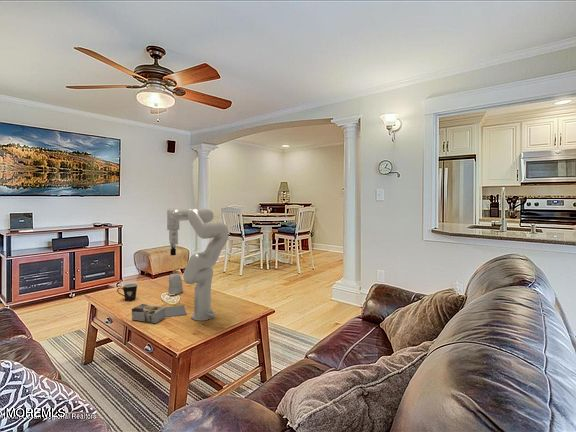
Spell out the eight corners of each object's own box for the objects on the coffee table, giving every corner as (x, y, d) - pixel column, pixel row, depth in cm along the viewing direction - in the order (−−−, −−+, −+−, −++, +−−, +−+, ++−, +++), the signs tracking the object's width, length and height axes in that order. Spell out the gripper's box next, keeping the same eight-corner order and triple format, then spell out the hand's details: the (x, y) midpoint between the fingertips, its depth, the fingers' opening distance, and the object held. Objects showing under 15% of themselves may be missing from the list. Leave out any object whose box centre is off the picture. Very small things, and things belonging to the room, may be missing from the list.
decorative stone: (178, 291, 234) (178, 271, 233) (184, 292, 232) (184, 272, 230) (167, 295, 224) (167, 274, 223) (173, 296, 222) (173, 276, 221)
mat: (186, 314, 190) (186, 314, 190) (143, 320, 181) (143, 319, 181) (184, 305, 205) (184, 305, 205) (143, 310, 195) (143, 309, 195)
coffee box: (155, 312, 175) (131, 309, 179) (155, 323, 176) (131, 319, 179) (165, 306, 184) (142, 303, 188) (165, 317, 185) (142, 313, 188)
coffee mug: (139, 297, 217) (139, 283, 216) (132, 302, 208) (132, 287, 208) (124, 296, 218) (124, 282, 217) (116, 301, 209) (116, 286, 209)
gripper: (180, 228, 198) (180, 257, 199) (178, 226, 212) (178, 252, 213) (167, 228, 195) (167, 257, 196) (166, 226, 209) (166, 253, 210)
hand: (173, 255), depth 205 cm, fingers closed
